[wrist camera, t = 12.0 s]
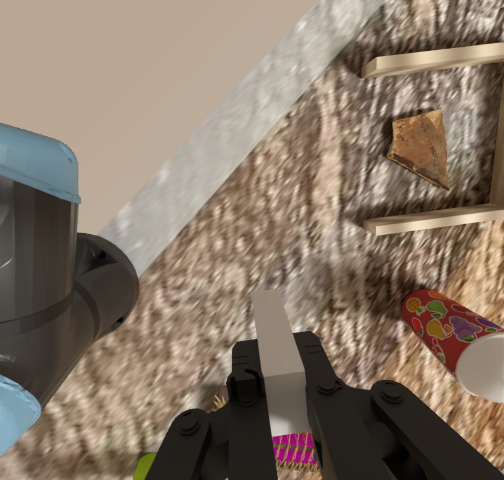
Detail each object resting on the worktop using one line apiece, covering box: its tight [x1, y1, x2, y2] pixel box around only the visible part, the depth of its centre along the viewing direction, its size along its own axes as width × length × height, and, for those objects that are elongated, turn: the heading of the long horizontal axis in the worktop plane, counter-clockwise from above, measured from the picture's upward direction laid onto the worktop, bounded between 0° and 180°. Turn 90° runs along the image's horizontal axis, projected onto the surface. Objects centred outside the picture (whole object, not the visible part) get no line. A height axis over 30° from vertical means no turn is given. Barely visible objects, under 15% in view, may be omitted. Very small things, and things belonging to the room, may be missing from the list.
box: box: [361, 42, 504, 235], centre depth 37 cm, size 20×20×4 cm
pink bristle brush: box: [212, 386, 321, 477], centre depth 48 cm, size 35×14×6 cm, turn 78°
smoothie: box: [402, 290, 504, 403], centre depth 36 cm, size 8×8×20 cm
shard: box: [386, 109, 449, 191], centre depth 39 cm, size 11×8×2 cm
